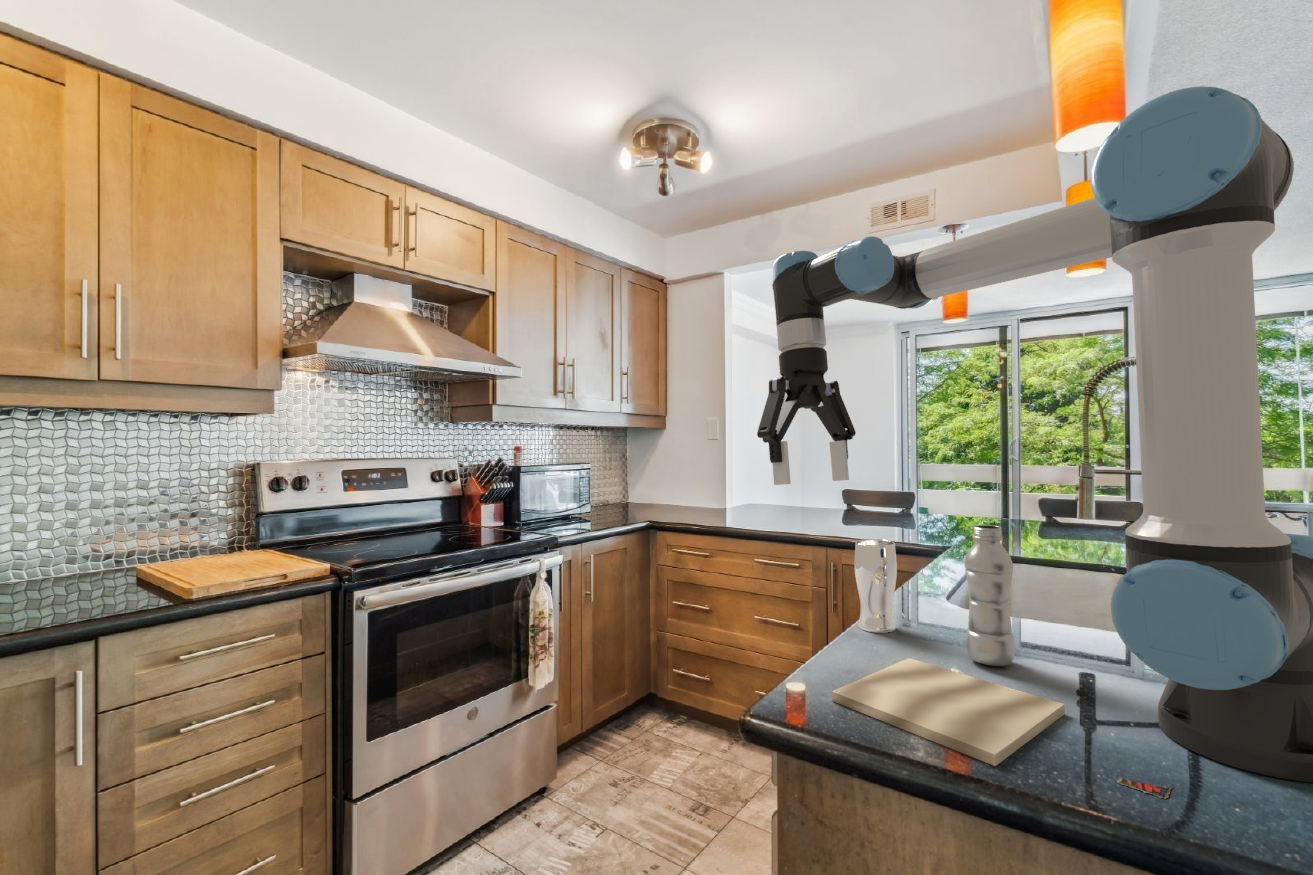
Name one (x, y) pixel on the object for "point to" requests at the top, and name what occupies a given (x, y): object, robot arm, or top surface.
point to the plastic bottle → (989, 598)
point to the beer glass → (876, 583)
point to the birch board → (951, 708)
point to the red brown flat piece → (1147, 788)
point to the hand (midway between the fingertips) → (812, 482)
